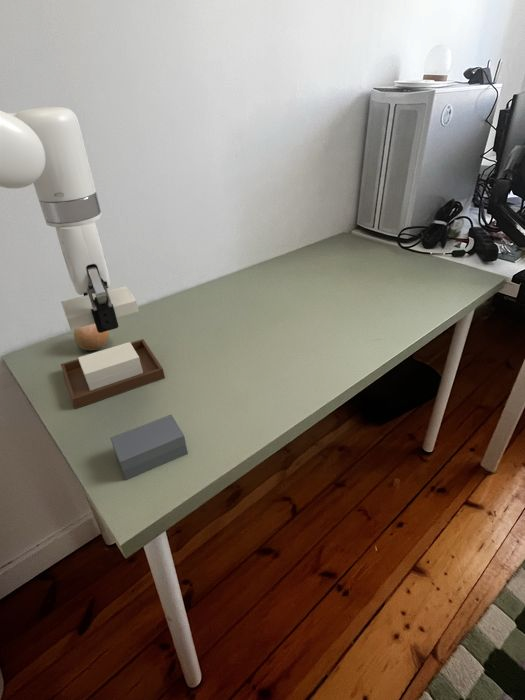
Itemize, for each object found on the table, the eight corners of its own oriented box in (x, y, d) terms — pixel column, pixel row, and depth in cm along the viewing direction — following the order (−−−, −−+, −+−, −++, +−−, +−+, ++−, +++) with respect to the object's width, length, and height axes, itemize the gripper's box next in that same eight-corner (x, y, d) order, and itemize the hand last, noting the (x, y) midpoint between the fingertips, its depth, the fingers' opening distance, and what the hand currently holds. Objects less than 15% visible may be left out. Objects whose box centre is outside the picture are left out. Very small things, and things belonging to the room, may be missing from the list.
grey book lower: (125, 480, 65) (122, 471, 64) (116, 455, 69) (113, 446, 68) (187, 453, 69) (186, 444, 68) (175, 431, 73) (173, 423, 72)
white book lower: (90, 391, 83) (87, 382, 82) (83, 373, 88) (80, 365, 86) (143, 373, 87) (141, 365, 86) (133, 357, 92) (131, 349, 91)
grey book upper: (122, 471, 64) (119, 462, 63) (113, 446, 68) (110, 437, 67) (186, 444, 68) (184, 435, 67) (173, 423, 72) (171, 414, 71)
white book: (70, 330, 65) (67, 318, 64) (64, 312, 70) (61, 301, 69) (138, 311, 69) (136, 300, 68) (128, 296, 74) (125, 285, 73)
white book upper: (87, 382, 82) (84, 374, 80) (80, 365, 86) (77, 357, 85) (141, 365, 86) (139, 356, 85) (131, 349, 91) (129, 341, 89)
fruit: (70, 353, 95) (59, 322, 90) (89, 336, 101) (80, 305, 96) (101, 357, 93) (91, 325, 89) (119, 339, 99) (110, 308, 95)
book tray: (75, 409, 79) (71, 399, 78) (63, 373, 89) (60, 364, 88) (165, 378, 86) (163, 368, 85) (145, 347, 96) (143, 338, 94)
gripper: (37, 200, 66) (71, 305, 75) (50, 230, 53) (89, 351, 63) (88, 192, 68) (114, 294, 78) (112, 218, 56) (140, 337, 65)
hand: (103, 319), depth 70 cm, fingers closed on white book, 6 cm apart
